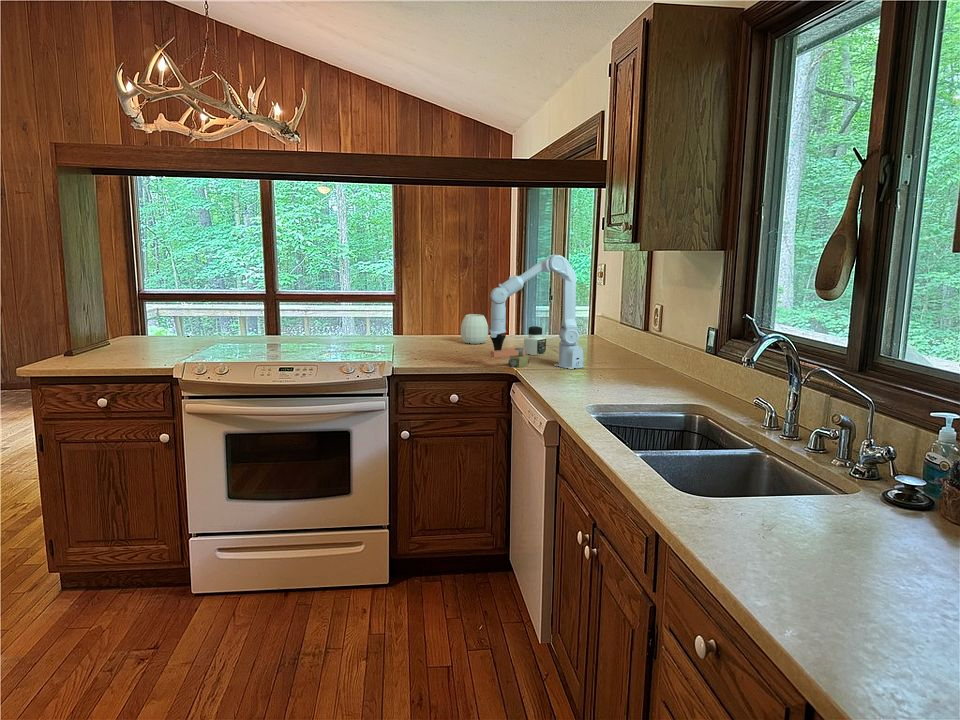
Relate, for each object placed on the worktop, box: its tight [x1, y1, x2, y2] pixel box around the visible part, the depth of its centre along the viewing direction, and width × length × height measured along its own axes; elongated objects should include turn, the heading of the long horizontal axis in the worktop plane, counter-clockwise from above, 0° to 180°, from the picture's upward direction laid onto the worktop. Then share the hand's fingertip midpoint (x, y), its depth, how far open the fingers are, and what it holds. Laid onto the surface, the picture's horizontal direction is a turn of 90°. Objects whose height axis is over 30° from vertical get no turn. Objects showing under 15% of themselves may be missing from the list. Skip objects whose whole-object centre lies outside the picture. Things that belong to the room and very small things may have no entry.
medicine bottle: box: [523, 325, 547, 356], centre depth 296 cm, size 7×7×12 cm
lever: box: [490, 347, 526, 358], centre depth 265 cm, size 14×3×2 cm, turn 119°
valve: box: [507, 354, 530, 369], centre depth 268 cm, size 6×8×4 cm
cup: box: [460, 313, 489, 345], centre depth 324 cm, size 13×13×14 cm
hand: (497, 353), depth 266 cm, fingers closed, pressing on lever
